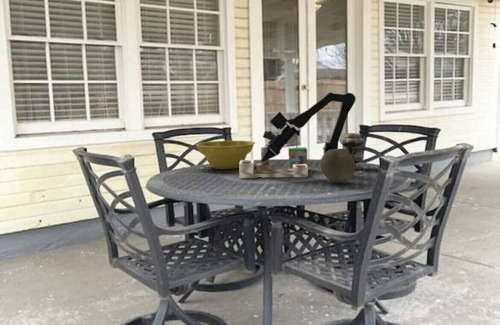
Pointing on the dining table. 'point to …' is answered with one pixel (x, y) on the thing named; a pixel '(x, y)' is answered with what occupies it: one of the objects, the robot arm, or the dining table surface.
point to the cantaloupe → (338, 165)
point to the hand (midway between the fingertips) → (262, 160)
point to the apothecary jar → (353, 146)
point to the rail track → (271, 171)
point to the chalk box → (297, 156)
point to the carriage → (265, 164)
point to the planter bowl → (225, 153)
